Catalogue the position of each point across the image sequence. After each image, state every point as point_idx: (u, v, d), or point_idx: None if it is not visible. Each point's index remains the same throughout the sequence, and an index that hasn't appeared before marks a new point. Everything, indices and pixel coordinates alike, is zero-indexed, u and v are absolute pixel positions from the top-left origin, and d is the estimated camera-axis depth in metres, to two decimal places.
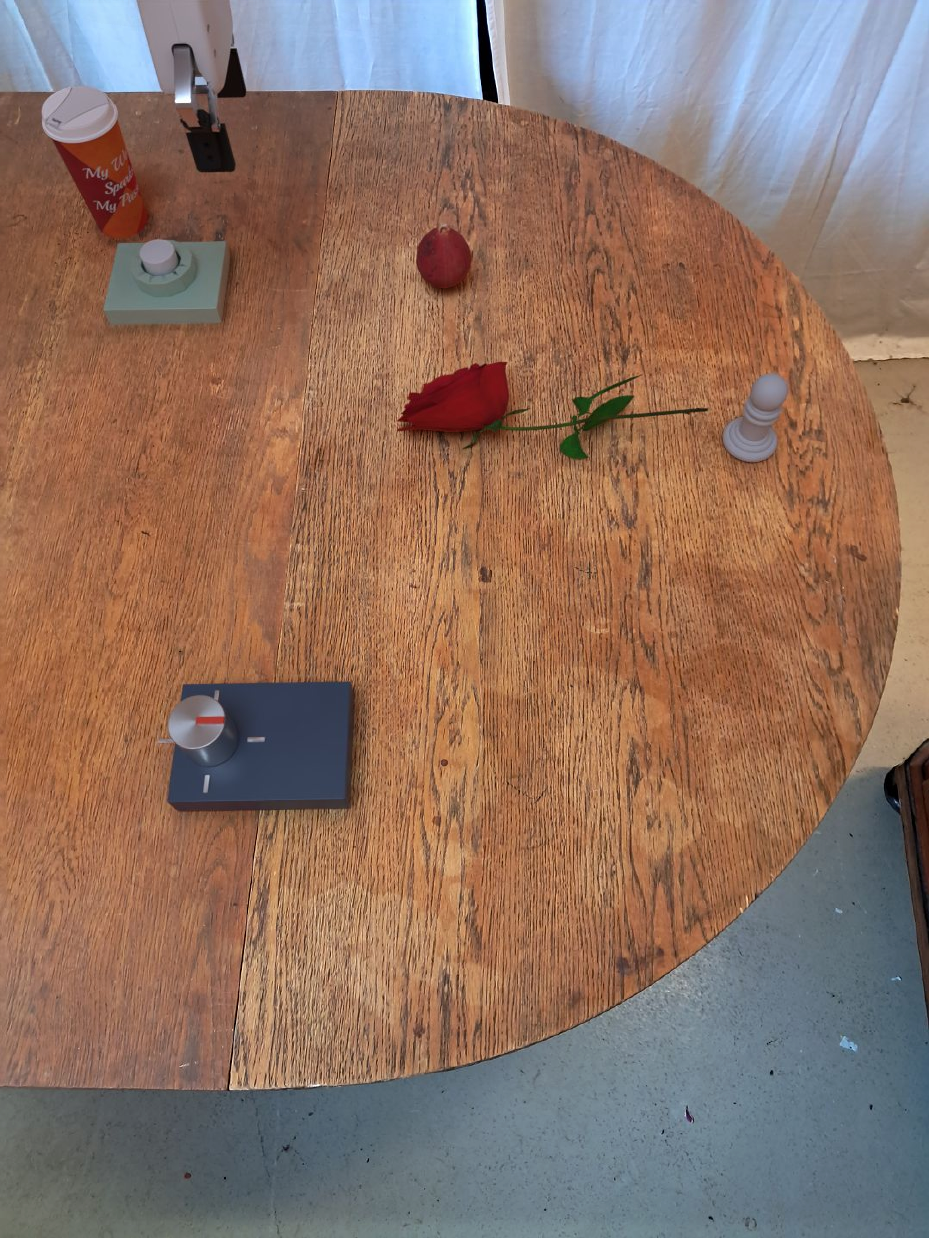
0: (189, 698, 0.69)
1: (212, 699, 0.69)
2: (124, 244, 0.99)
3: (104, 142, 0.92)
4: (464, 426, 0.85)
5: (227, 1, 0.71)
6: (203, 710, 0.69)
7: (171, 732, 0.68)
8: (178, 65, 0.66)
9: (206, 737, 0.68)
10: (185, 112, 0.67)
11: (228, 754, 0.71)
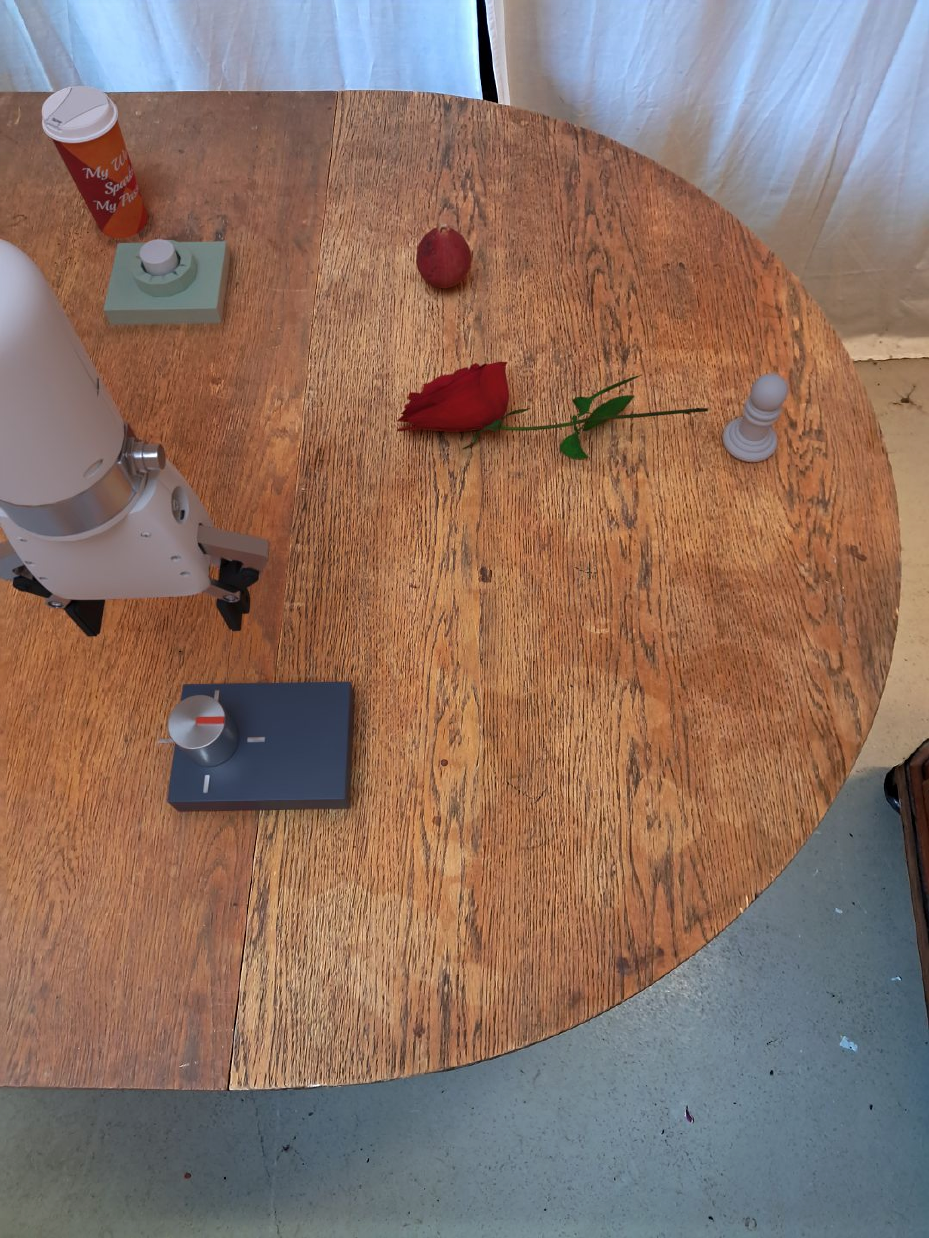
0: (189, 698, 0.69)
1: (212, 699, 0.69)
2: (124, 244, 0.99)
3: (104, 142, 0.92)
4: (464, 426, 0.85)
5: (167, 578, 0.53)
6: (203, 710, 0.69)
7: (171, 732, 0.68)
8: None
9: (206, 737, 0.68)
10: None
11: (228, 754, 0.71)
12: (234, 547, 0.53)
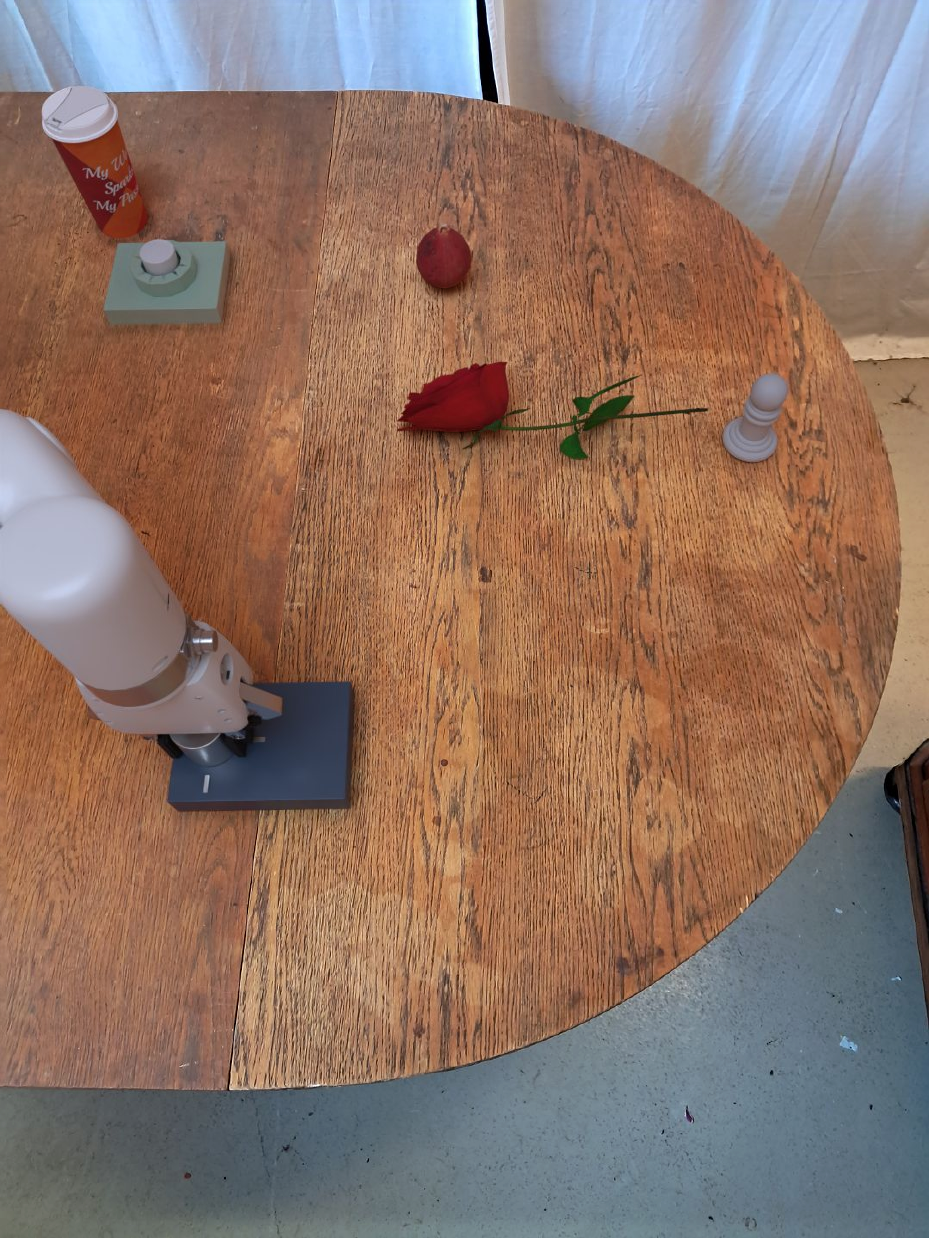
0: None
1: None
2: (124, 244, 0.99)
3: (104, 142, 0.92)
4: (464, 426, 0.85)
5: (213, 723, 0.62)
6: None
7: None
8: None
9: (206, 737, 0.68)
10: None
11: (228, 754, 0.71)
12: (261, 704, 0.64)
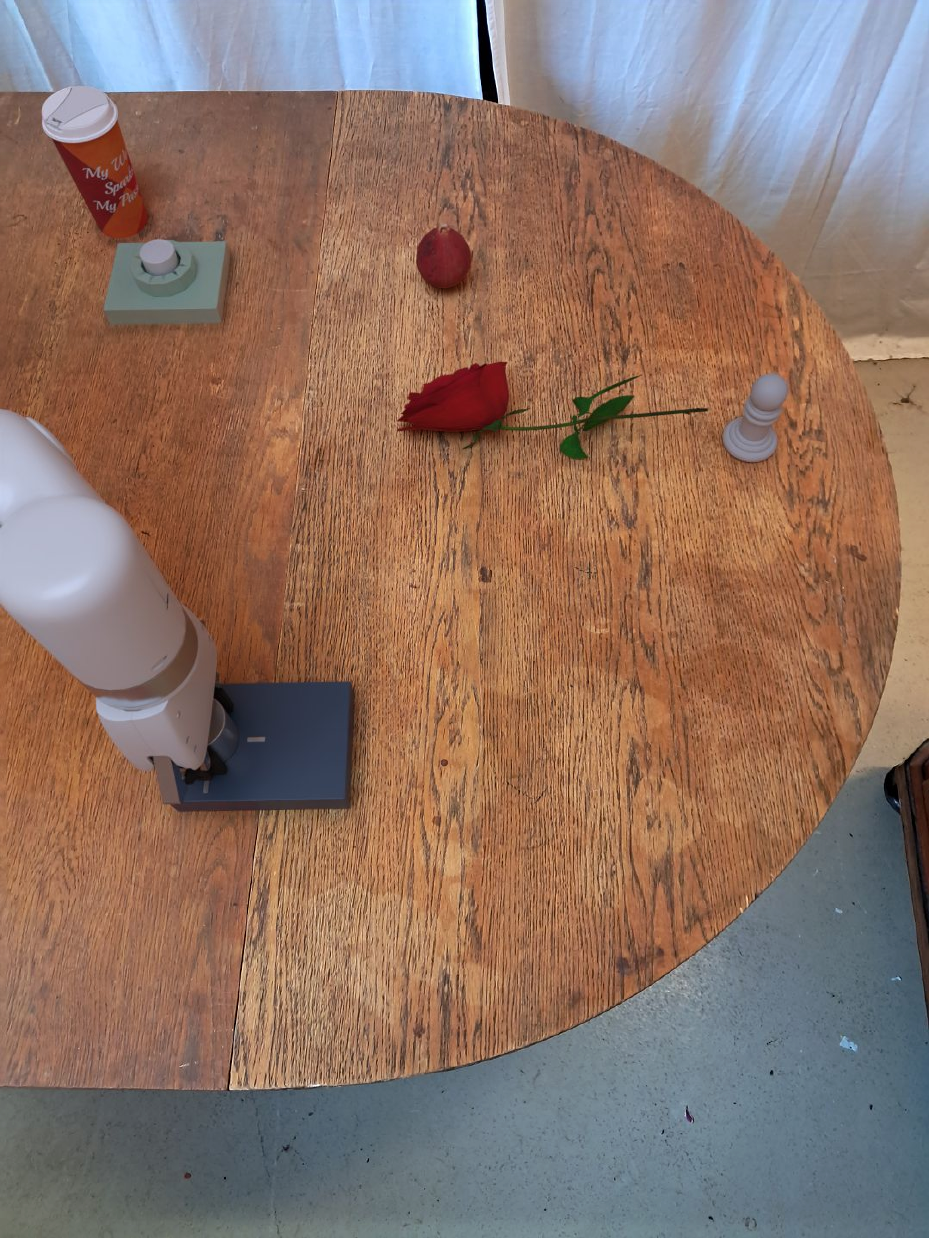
0: None
1: None
2: (124, 244, 0.99)
3: (104, 142, 0.92)
4: (464, 426, 0.85)
5: (210, 654, 0.65)
6: None
7: None
8: (160, 772, 0.61)
9: (214, 709, 0.69)
10: None
11: None
12: None
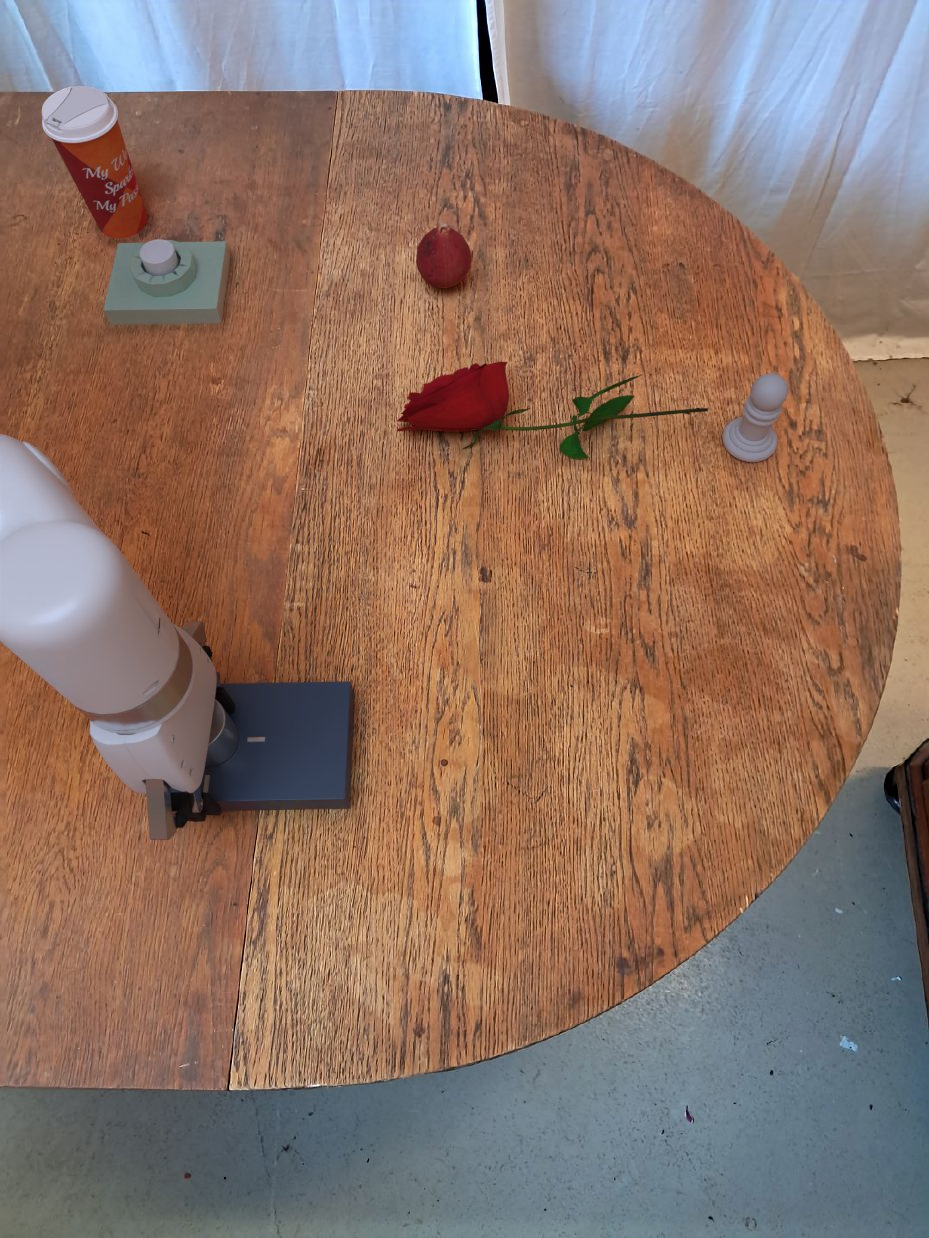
0: None
1: None
2: (124, 244, 0.99)
3: (104, 142, 0.92)
4: (464, 426, 0.85)
5: (208, 677, 0.64)
6: None
7: None
8: (151, 799, 0.60)
9: (215, 710, 0.69)
10: None
11: None
12: (192, 632, 0.66)
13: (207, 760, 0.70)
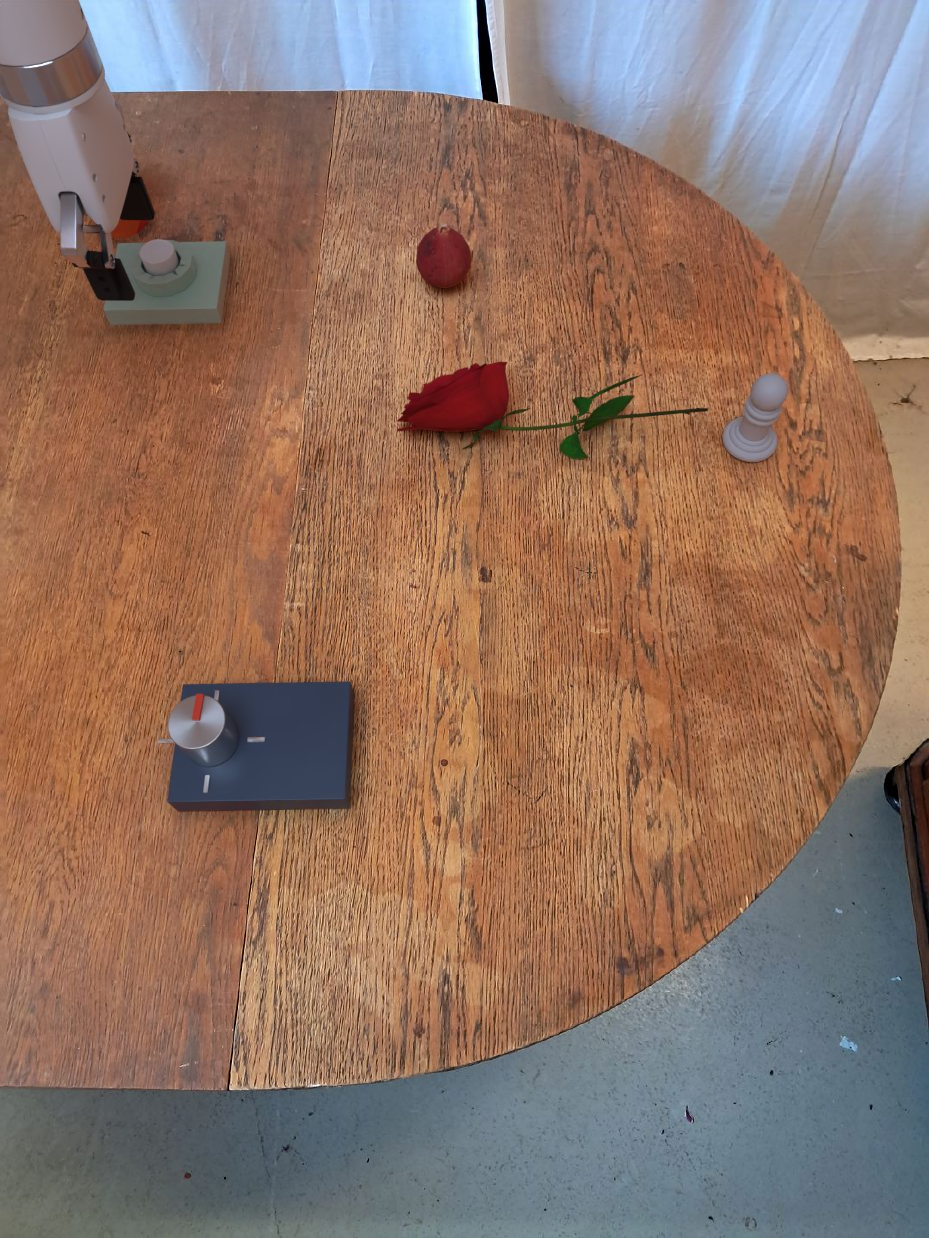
0: (170, 730, 0.68)
1: (175, 708, 0.69)
2: (124, 244, 0.99)
3: None
4: (464, 426, 0.85)
5: (124, 140, 0.71)
6: (186, 715, 0.69)
7: (203, 744, 0.67)
8: (64, 212, 0.67)
9: (215, 710, 0.69)
10: (72, 257, 0.68)
11: None
12: None
13: (207, 760, 0.70)
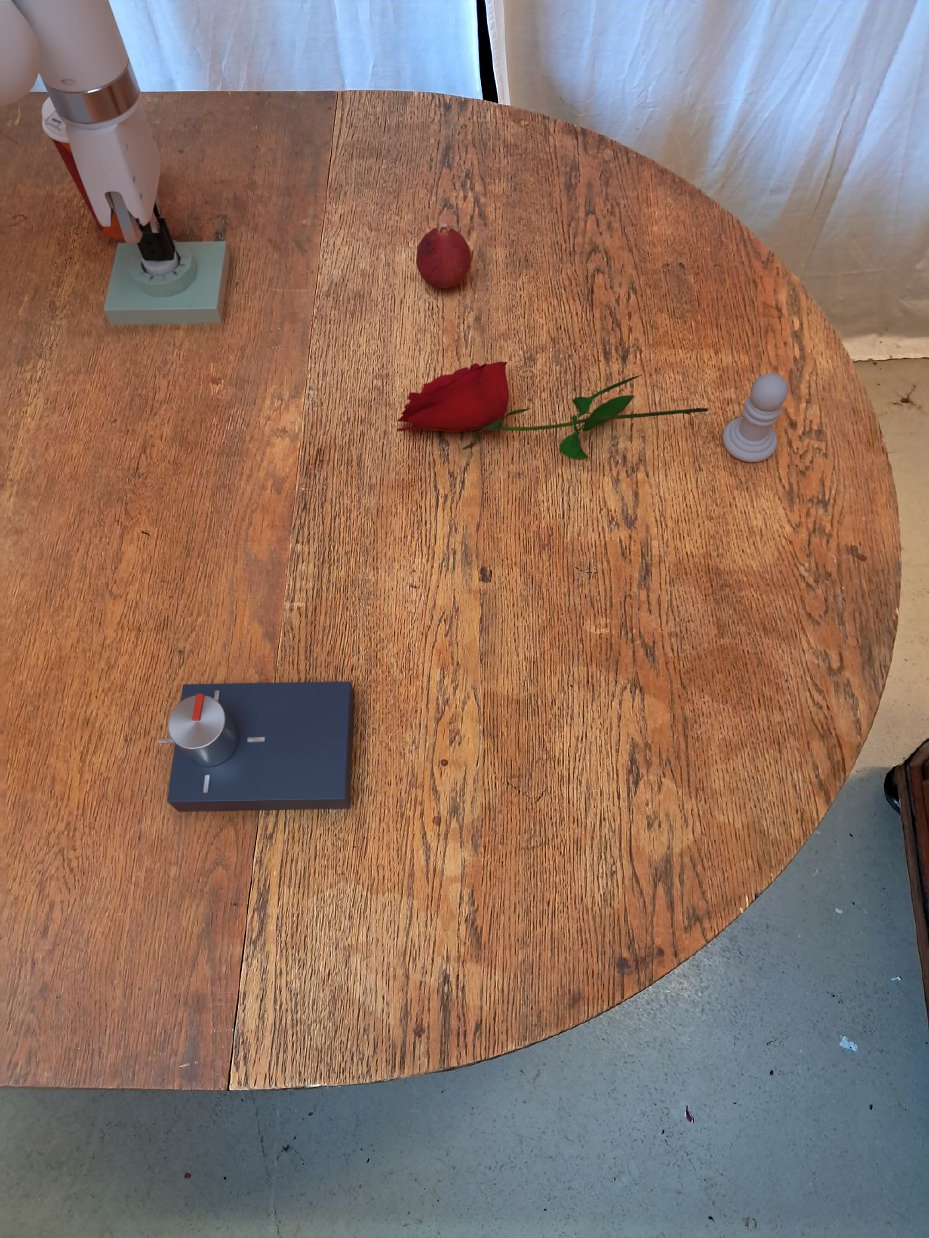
0: (170, 730, 0.68)
1: (175, 708, 0.69)
2: (124, 244, 0.99)
3: None
4: (464, 426, 0.85)
5: (154, 148, 0.87)
6: (186, 715, 0.69)
7: (203, 744, 0.67)
8: (119, 214, 0.84)
9: (215, 710, 0.69)
10: None
11: None
12: None
13: (207, 760, 0.70)
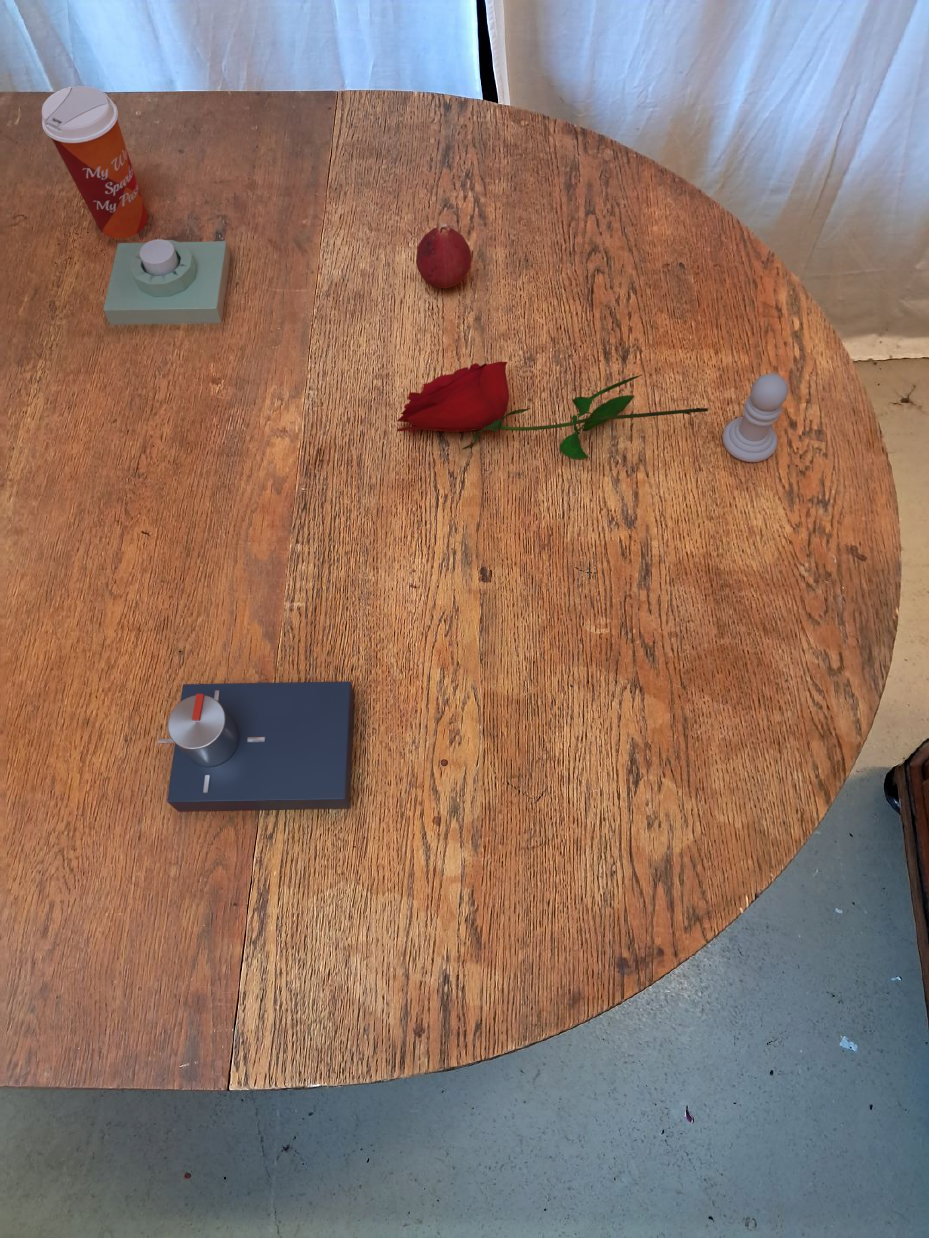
0: (170, 730, 0.68)
1: (175, 708, 0.69)
2: (124, 244, 0.99)
3: (104, 142, 0.92)
4: (464, 426, 0.85)
5: None
6: (186, 715, 0.69)
7: (203, 744, 0.67)
8: None
9: (215, 710, 0.69)
10: None
11: None
12: None
13: (207, 760, 0.70)
